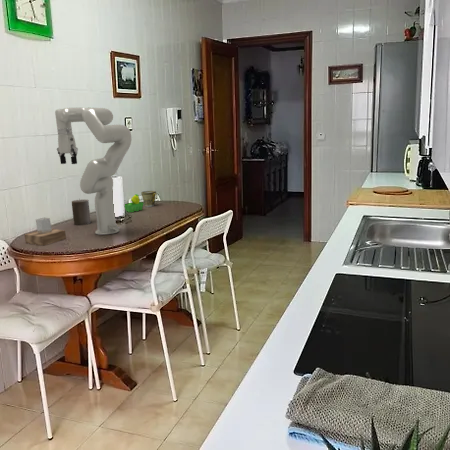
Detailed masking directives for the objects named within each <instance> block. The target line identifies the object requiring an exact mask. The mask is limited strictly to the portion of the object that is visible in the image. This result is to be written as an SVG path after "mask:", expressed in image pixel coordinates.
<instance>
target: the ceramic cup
mask: <svg viewBox="0 0 450 450" xmlns="http://www.w3.org/2000/svg"><path fill="white" fill-rule="evenodd" d="M140 193H141V198H142V201H143V206H144V207H145V208H152V207H155V204H156V203H155V202H156V199H157V198H158V193H157V191H156V190H144V191H141V192H140Z"/></svg>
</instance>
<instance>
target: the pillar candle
mask: <svg viewBox="0 0 450 450" xmlns="http://www.w3.org/2000/svg"><path fill="white" fill-rule="evenodd" d="M71 209H72V217H73V225H74V226H75V225H76V226H84V225H89V224H91V223H92V222H91V220H92V219H91V211H90V203H89V199H80V198H79V199H75V200H72V201H71Z"/></svg>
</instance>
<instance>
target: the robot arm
mask: <svg viewBox="0 0 450 450" xmlns="http://www.w3.org/2000/svg"><path fill="white" fill-rule="evenodd" d="M54 114H55V121H56V128H57V129H56V130H57V131H56V132H57V142H58V143H57V146H58V147H57V148H56V150H57V151H56V152H57V154H58V157H59V161H60V165H64V164H67V158H66V154H69V155H70V161H71V164H72V165H77V164H78V159H77V156H78V151H79V148H78V147H77V144H76V140H75V136H74V134H73V130H72V129H73V127H72V123H79V122H80V123H82V122H83V123H85V125H86V126H87V127H88V129H89V130H90V132H91V134H92V135H93V136H94V138H95V139H96V141H98V142H99V143H102V144H111V143H113V144H111V146H110V147H108V148H107V151H106V153H105V155H104V156H103V157H101V158H95V159H92V160H90V161H89V162H88V163H87V164H86V167H85V169H84V171H83V173H82V175H81V178H80V181H79V188H80V190H81V191H82V192H83V193H84V194H87V195H91V194H95V196H94V207H95V208H94V209H95V217H96V224H97V229H96V230H95V233H94V234H96V235H99V236H100V235H101V236H102V235H103V236H106V235H113V234H116V233H119V232H120V228H121V227H120V226H118V223H116V218H115V213H114V204H113V190H114V179H113V176H114V175H115V174H116V173H117V171H119V167H120V166H121V163H122V161H123V159H124V157H125V156H126V154H127V153H128V151H129V149H130V147H131V145H132V132H131V130H130V129H129V127H128V126H126V125H124V124H111V123H112V122H113V120H114V115H113V112H112V111H111V110H110V109H109V108H105V107H64V108H58V109H55V111H54Z"/></svg>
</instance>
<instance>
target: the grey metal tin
mask: <svg viewBox="0 0 450 450" xmlns="http://www.w3.org/2000/svg"><path fill="white" fill-rule="evenodd" d="M35 222H36V223H35V224H36V225H35V226H36V231H38V233H41V234H44V233H49V232H52V229H53V228H52V223H51V219H50V217H42V218H41V217H40V218H36V219H35Z"/></svg>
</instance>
